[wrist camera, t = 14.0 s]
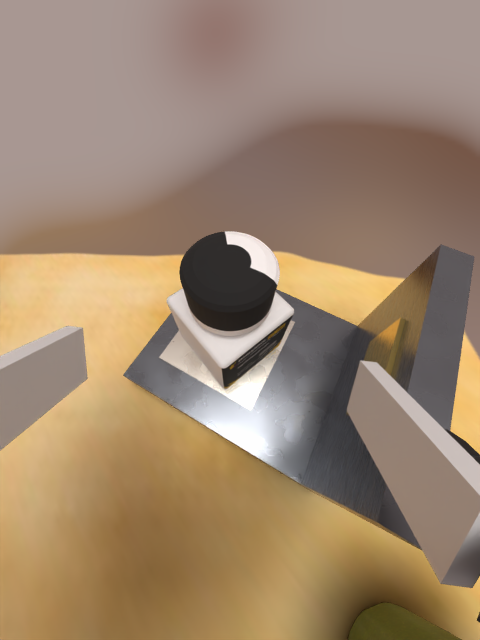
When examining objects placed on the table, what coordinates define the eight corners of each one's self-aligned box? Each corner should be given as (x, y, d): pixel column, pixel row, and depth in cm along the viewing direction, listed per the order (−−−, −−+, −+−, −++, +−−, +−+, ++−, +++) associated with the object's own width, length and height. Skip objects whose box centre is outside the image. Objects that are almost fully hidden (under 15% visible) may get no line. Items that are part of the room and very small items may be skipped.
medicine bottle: (225, 391, 23) (219, 341, 12) (180, 335, 25) (143, 253, 15) (280, 344, 25) (316, 268, 14) (235, 297, 28) (237, 201, 17)
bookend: (133, 382, 26) (33, 314, 13) (213, 275, 33) (201, 156, 20) (312, 492, 22) (432, 555, 9) (362, 345, 29) (474, 256, 16)
